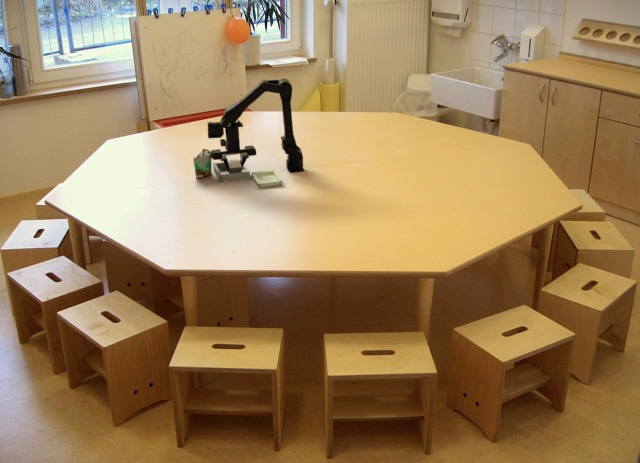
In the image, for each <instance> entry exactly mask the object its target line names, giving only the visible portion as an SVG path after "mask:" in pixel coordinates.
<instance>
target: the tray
mask: <svg viewBox="0 0 640 463" xmlns="http://www.w3.org/2000/svg"><path fill="white" fill-rule="evenodd" d="M250 177H251V178H252V180H253V182H254V183H255V185H256V186H258V187H257V188H258V189H266V188H275V187H282V186H283V180H282V179H281V177H280V176H279V174H278V173H277V171H276V170H275V169H269V170H261V171H254V172H253V171H251V172H250Z"/></svg>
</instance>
